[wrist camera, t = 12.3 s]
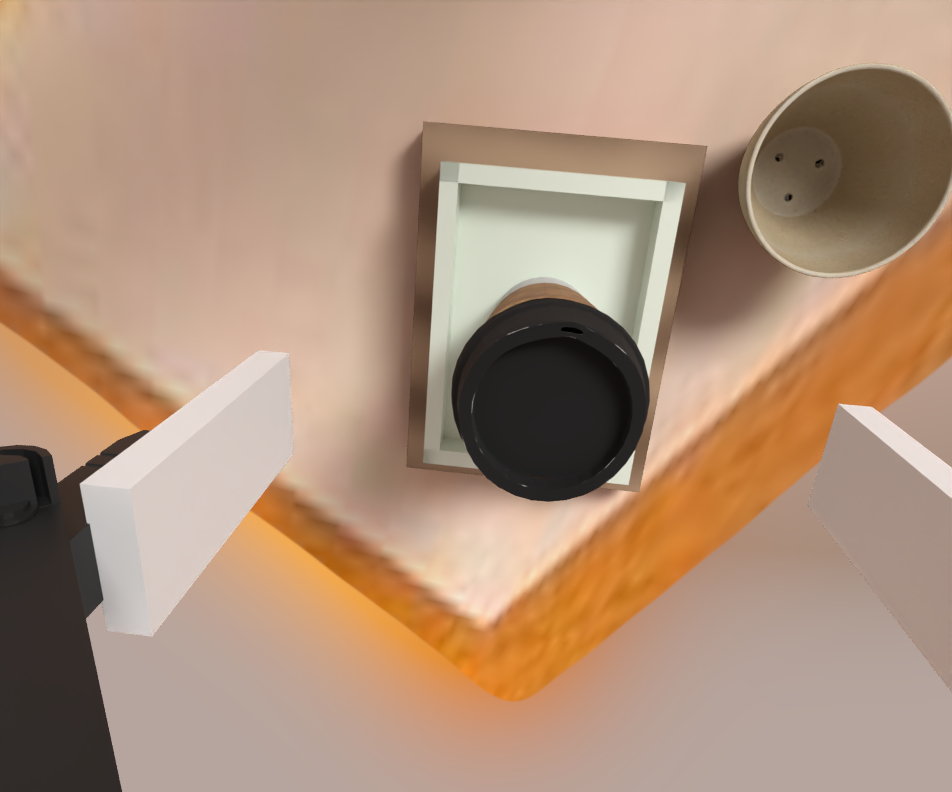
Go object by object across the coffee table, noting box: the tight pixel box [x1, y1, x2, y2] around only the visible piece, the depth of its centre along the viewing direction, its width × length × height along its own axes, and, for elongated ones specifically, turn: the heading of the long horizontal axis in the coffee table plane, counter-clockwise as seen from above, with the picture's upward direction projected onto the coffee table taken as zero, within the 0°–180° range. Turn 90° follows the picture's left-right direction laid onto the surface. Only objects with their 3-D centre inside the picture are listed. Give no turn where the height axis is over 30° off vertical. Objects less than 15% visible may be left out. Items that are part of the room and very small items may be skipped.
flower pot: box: [738, 63, 952, 278], centre depth 34 cm, size 10×10×7 cm
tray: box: [423, 161, 686, 485], centre depth 38 cm, size 18×13×3 cm
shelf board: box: [407, 122, 707, 492], centre depth 41 cm, size 22×16×2 cm
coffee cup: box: [451, 277, 650, 502], centre depth 32 cm, size 8×8×15 cm
